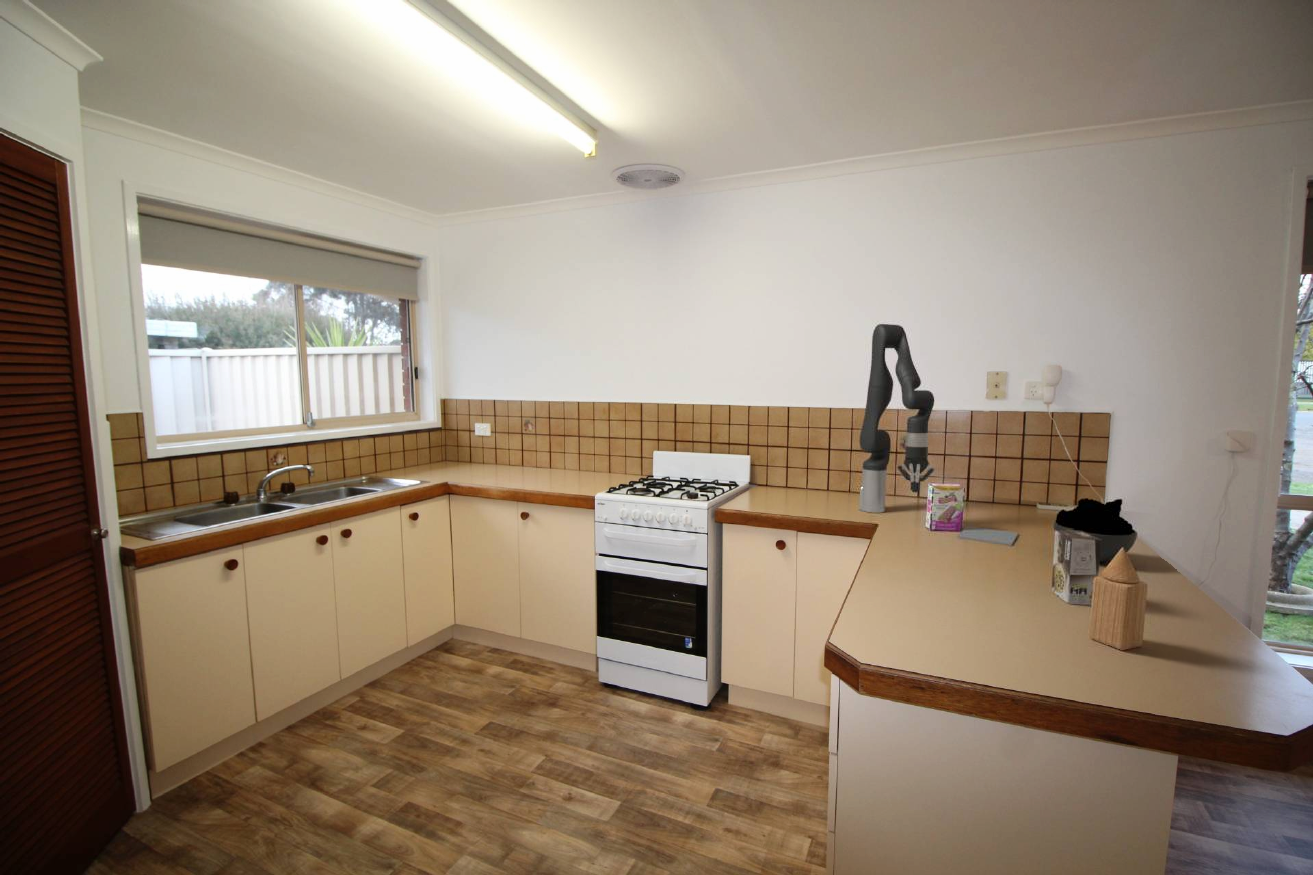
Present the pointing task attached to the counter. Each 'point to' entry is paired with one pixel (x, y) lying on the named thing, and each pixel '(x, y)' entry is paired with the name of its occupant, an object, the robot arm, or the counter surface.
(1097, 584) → the decorative item
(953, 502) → the candy bar box
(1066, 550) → the coffee box
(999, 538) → the mat
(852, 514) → the counter surface
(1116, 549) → the bowl of black rocks
